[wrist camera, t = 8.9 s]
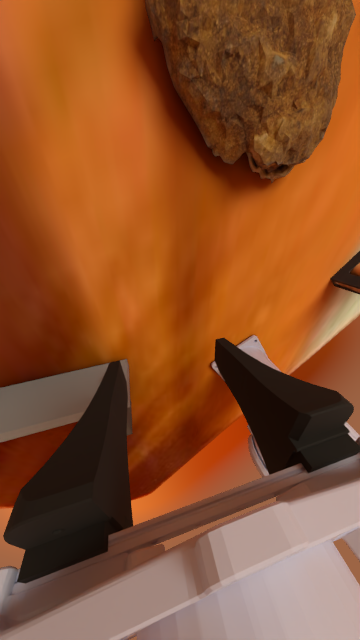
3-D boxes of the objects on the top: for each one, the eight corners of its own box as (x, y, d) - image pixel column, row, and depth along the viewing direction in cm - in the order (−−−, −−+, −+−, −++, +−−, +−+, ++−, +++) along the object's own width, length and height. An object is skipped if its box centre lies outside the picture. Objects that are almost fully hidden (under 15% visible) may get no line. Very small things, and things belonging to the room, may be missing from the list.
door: (3, 395, 22) (-31, 450, 17) (-10, 380, 21) (-52, 436, 16) (128, 365, 24) (130, 407, 20) (124, 350, 23) (124, 391, 18)
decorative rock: (340, 103, 17) (243, -209, 9) (398, 72, 13) (315, -462, 6) (248, 214, 19) (115, 33, 12) (276, 213, 15) (111, -46, 8)
